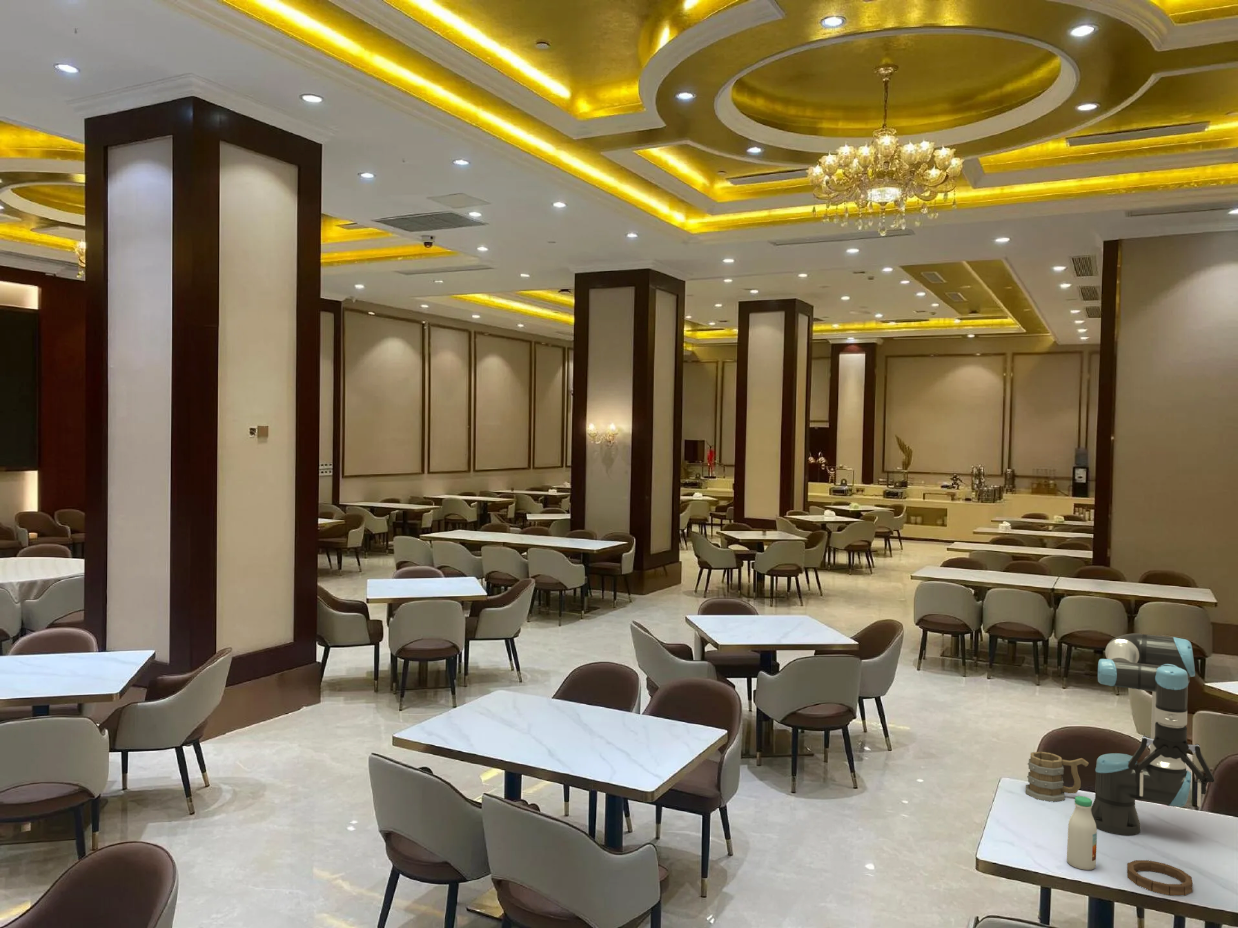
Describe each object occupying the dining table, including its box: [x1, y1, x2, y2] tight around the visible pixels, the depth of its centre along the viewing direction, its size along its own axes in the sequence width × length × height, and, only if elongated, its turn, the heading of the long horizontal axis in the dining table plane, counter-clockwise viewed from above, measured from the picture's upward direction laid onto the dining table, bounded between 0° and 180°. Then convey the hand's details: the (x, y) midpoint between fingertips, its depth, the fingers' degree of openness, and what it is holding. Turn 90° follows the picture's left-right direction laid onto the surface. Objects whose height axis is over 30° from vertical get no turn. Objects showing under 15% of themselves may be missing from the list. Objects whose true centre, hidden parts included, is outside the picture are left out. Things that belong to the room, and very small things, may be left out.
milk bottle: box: [1066, 795, 1098, 871], centre depth 267 cm, size 8×8×20 cm
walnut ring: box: [1126, 859, 1194, 896], centre depth 258 cm, size 16×16×2 cm
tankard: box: [1025, 751, 1089, 803], centre depth 321 cm, size 20×13×15 cm, turn 66°
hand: (1169, 799), depth 247 cm, fingers open, 13 cm apart
